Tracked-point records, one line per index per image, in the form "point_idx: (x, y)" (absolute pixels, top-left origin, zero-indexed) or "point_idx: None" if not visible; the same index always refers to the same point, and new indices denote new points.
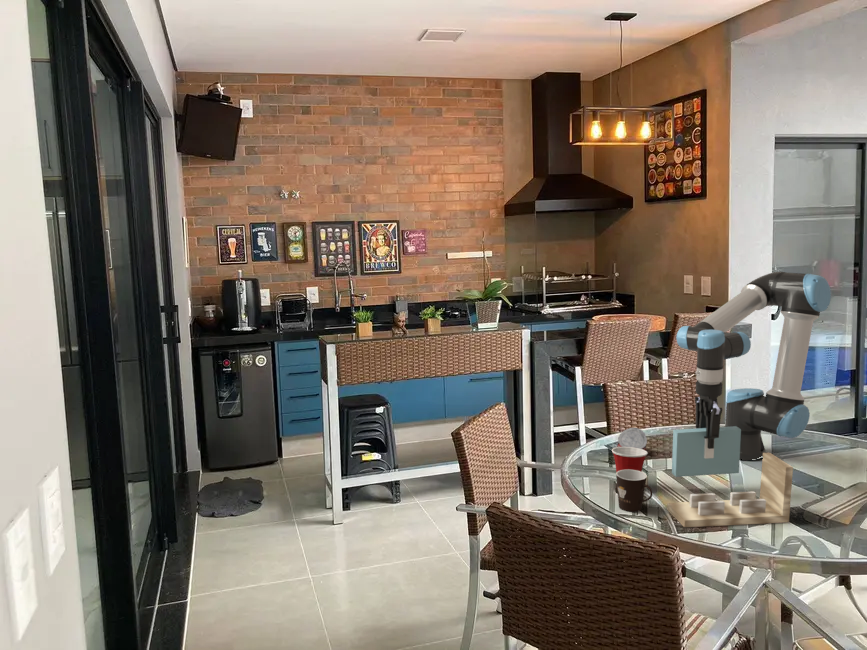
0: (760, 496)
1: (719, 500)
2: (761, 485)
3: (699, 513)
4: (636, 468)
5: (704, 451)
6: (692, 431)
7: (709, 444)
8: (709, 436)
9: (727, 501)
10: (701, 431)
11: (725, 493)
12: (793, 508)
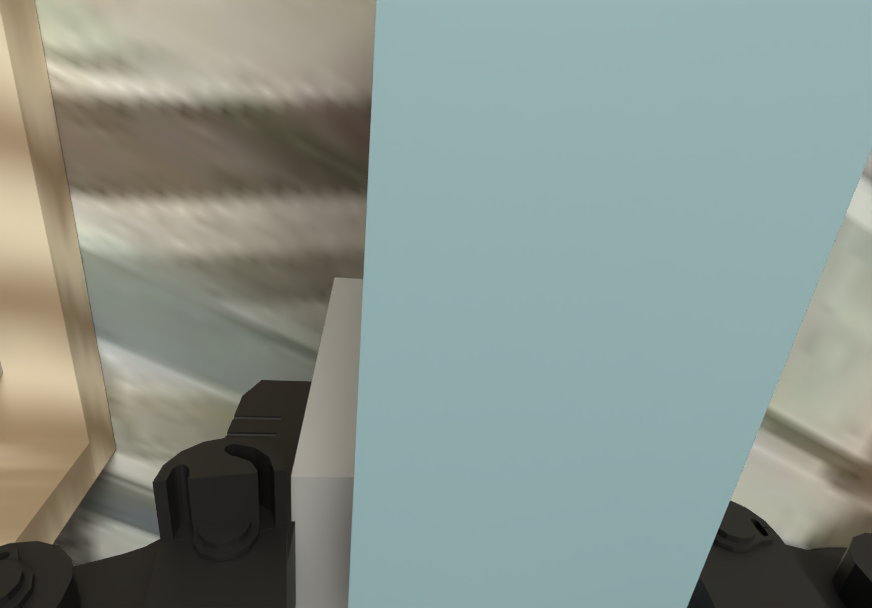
0: (72, 455)
1: (29, 158)
2: (20, 517)
3: None
4: None
5: (353, 315)
6: (457, 196)
7: (231, 432)
8: (4, 574)
9: (14, 212)
10: (362, 535)
11: (315, 318)
12: (69, 546)
